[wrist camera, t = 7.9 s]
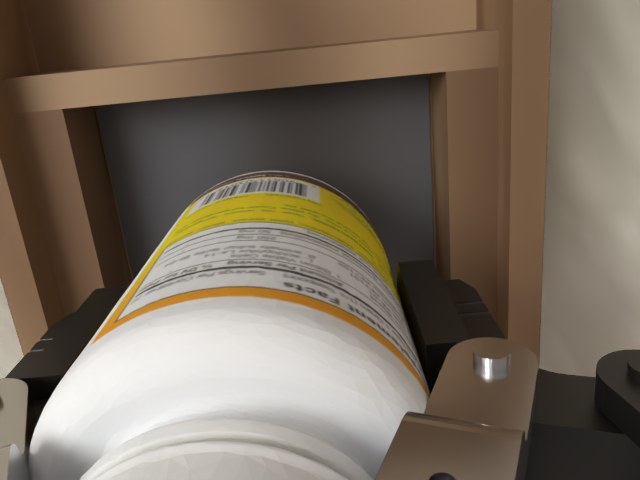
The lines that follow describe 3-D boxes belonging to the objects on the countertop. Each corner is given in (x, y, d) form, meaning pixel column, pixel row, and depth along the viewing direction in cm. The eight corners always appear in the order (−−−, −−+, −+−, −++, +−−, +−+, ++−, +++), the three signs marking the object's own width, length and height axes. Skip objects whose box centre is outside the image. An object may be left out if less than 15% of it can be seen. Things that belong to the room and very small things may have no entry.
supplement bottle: (278, 402, 16) (222, 937, 7) (123, 268, 15) (-226, 699, 5) (433, 273, 15) (635, 706, 5) (277, 113, 14) (182, 316, 4)
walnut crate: (109, 395, 20) (61, 480, 16) (-29, -152, 15) (-148, -214, 11) (494, 363, 20) (536, 442, 16) (498, -210, 14) (561, -294, 11)
